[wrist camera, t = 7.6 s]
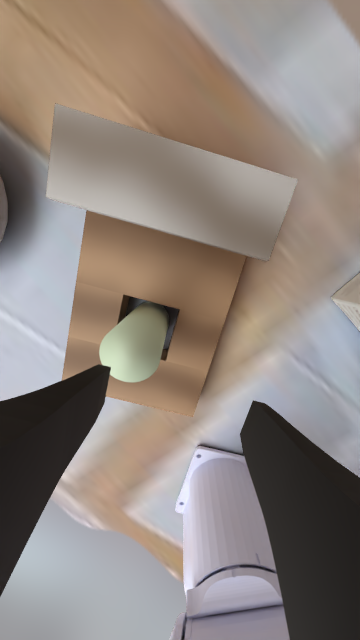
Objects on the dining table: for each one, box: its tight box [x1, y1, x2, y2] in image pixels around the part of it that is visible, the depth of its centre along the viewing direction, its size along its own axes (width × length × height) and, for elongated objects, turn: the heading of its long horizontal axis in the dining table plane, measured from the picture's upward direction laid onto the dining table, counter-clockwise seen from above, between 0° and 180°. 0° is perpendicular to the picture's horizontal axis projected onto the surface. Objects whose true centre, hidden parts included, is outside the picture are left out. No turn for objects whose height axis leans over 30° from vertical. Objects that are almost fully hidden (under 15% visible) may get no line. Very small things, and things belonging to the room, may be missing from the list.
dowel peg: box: [99, 302, 169, 382], centre depth 15 cm, size 3×3×8 cm
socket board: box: [46, 103, 298, 417], centre depth 15 cm, size 18×12×7 cm, turn 165°
